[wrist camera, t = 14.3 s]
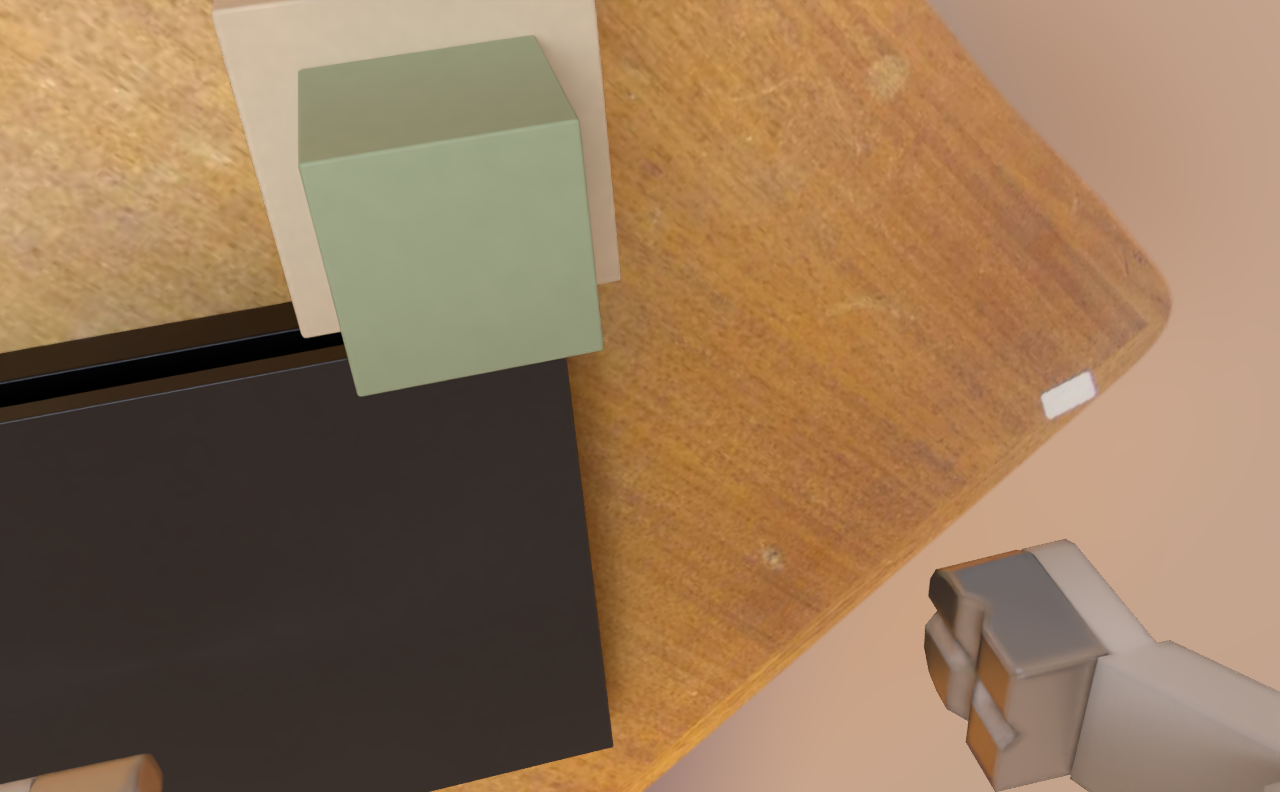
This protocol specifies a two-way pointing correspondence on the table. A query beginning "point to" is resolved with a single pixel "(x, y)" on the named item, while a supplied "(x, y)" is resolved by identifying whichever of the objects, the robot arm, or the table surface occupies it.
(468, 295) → the block
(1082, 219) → the table surface
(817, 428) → the table surface
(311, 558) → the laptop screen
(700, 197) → the table surface
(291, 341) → the laptop
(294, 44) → the stand
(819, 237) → the table surface
